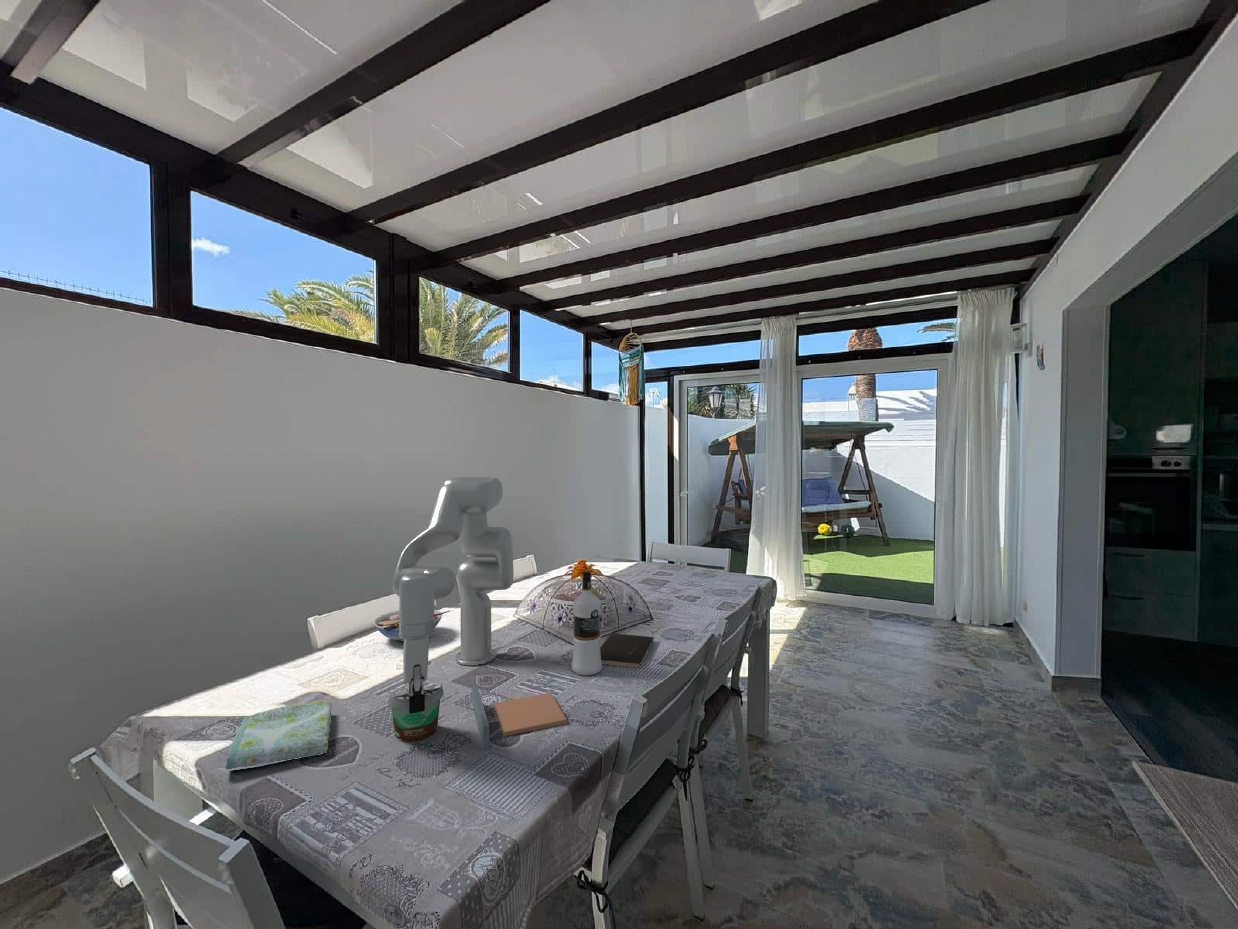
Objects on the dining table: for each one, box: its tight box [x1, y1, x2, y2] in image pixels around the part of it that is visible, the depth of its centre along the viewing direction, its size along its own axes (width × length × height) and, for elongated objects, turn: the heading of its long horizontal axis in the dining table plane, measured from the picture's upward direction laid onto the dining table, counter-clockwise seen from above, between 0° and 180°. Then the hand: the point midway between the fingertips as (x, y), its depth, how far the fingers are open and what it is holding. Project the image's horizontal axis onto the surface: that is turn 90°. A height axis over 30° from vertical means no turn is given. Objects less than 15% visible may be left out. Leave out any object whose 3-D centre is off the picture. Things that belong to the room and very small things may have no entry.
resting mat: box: [493, 692, 568, 737], centre depth 127 cm, size 15×15×1 cm
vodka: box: [571, 570, 603, 676], centre depth 154 cm, size 9×9×30 cm
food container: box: [387, 685, 445, 743], centre depth 117 cm, size 12×6×10 cm, turn 117°
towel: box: [225, 699, 333, 770], centre depth 115 cm, size 18×21×5 cm
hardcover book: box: [600, 632, 655, 668], centre depth 169 cm, size 16×23×2 cm
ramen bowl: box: [373, 608, 451, 641], centre depth 181 cm, size 25×23×8 cm
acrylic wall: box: [471, 684, 490, 750], centre depth 123 cm, size 22×1×5 cm, turn 22°
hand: (416, 702), depth 117 cm, fingers open, 9 cm apart
